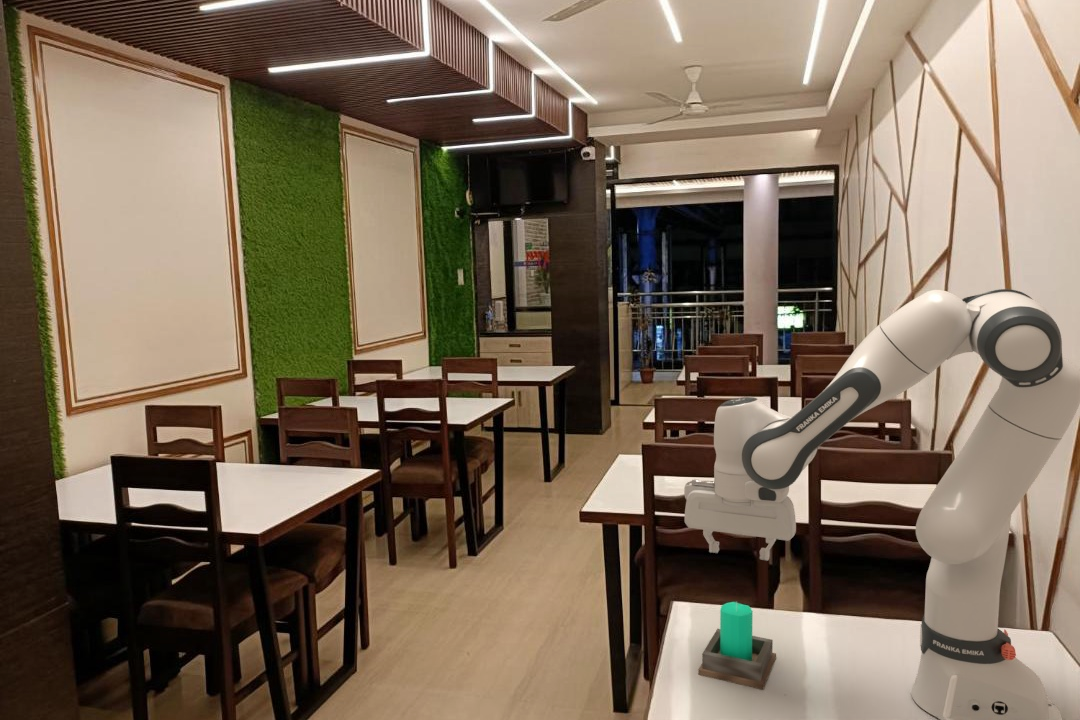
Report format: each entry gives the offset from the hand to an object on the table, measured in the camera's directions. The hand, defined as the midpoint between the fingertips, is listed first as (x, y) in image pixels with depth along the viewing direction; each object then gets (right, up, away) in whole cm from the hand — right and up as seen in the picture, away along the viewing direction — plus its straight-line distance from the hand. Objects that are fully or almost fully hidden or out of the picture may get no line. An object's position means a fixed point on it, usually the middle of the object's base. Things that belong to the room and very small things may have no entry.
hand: (739, 555), depth 145 cm
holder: (+1, -22, +3) cm, 22 cm away
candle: (0, -21, +3) cm, 22 cm away
